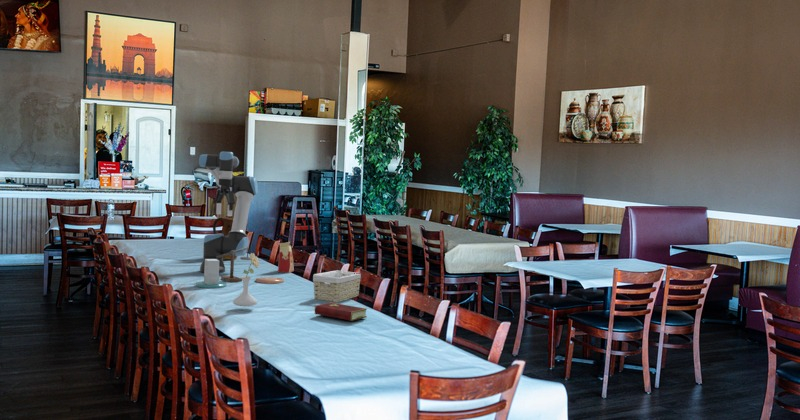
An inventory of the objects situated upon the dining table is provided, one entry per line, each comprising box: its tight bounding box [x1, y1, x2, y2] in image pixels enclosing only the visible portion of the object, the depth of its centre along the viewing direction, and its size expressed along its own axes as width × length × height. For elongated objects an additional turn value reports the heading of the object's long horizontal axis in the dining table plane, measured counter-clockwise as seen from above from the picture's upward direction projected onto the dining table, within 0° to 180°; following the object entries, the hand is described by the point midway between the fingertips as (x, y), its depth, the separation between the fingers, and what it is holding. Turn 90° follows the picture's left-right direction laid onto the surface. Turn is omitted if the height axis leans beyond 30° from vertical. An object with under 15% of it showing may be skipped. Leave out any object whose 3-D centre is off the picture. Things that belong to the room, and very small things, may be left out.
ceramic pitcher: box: [212, 216, 238, 261], centre depth 496 cm, size 20×20×30 cm
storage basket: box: [312, 269, 362, 303], centre depth 376 cm, size 24×16×15 cm
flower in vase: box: [232, 252, 261, 307], centre depth 339 cm, size 13×11×25 cm
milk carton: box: [277, 241, 295, 274], centre depth 451 cm, size 9×9×20 cm
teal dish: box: [195, 281, 227, 289], centre depth 390 cm, size 16×16×1 cm
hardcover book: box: [314, 301, 368, 322], centre depth 330 cm, size 12×21×4 cm, turn 58°
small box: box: [203, 259, 220, 285], centre depth 389 cm, size 8×6×13 cm
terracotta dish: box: [255, 276, 285, 285], centre depth 415 cm, size 16×16×1 cm
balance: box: [216, 247, 251, 283], centre depth 411 cm, size 12×27×19 cm, turn 131°
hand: (224, 215), depth 415 cm, fingers open, 13 cm apart
